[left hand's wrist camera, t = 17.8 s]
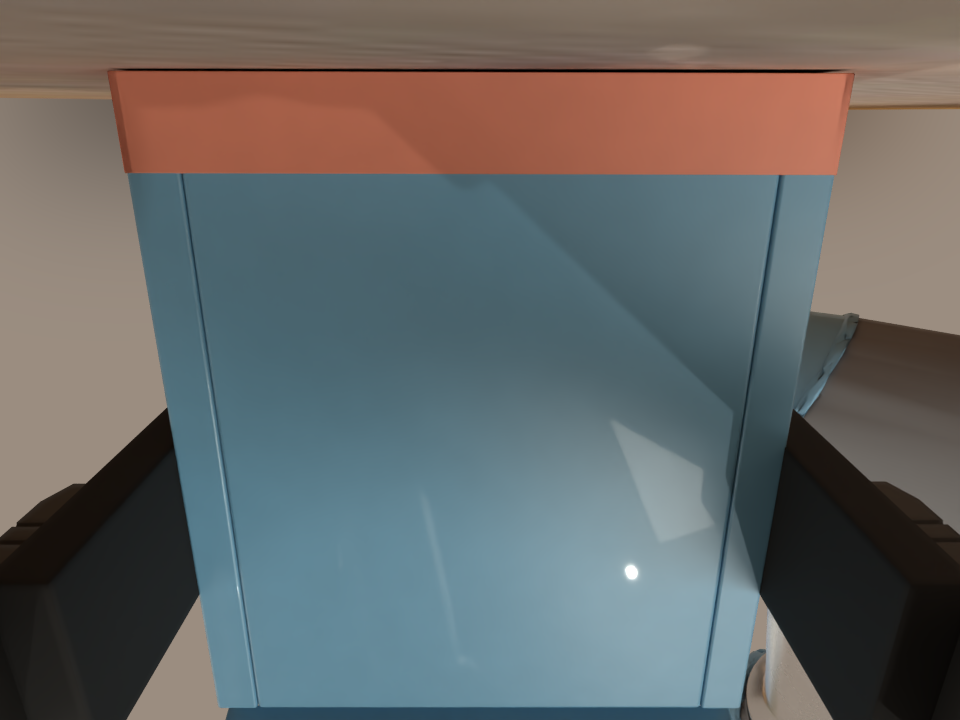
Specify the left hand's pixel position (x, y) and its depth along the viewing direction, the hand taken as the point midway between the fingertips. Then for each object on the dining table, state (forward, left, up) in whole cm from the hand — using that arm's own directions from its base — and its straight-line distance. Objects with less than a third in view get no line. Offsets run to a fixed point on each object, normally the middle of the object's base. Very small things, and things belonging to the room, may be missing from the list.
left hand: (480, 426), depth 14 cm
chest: (+3, -3, -6) cm, 8 cm away
